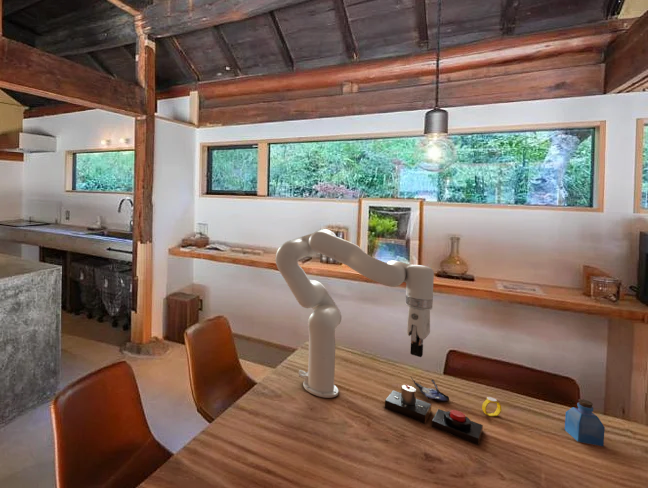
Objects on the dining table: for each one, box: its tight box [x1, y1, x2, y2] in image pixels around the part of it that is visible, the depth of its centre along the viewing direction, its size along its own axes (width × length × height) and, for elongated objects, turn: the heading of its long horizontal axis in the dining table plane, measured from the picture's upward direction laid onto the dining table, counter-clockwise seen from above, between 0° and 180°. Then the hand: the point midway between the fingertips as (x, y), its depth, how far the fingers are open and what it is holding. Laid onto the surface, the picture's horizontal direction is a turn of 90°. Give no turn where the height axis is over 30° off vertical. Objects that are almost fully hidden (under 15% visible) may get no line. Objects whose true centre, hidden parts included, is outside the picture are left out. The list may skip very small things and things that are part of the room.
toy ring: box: [481, 396, 502, 417], centre depth 138 cm, size 6×3×6 cm, turn 93°
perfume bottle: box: [564, 398, 606, 447], centre depth 126 cm, size 6×6×12 cm
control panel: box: [384, 389, 432, 425], centre depth 140 cm, size 12×10×3 cm
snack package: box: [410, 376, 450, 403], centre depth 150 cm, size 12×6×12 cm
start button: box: [449, 409, 466, 422], centre depth 130 cm, size 4×4×2 cm
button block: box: [431, 408, 484, 446], centre depth 130 cm, size 12×10×4 cm
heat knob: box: [400, 383, 417, 405], centre depth 140 cm, size 4×4×5 cm
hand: (416, 355), depth 133 cm, fingers closed
